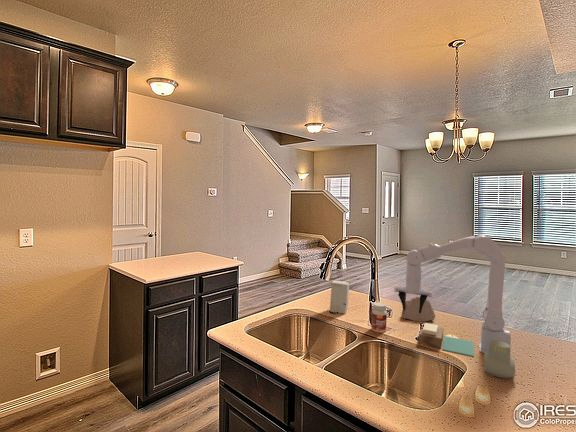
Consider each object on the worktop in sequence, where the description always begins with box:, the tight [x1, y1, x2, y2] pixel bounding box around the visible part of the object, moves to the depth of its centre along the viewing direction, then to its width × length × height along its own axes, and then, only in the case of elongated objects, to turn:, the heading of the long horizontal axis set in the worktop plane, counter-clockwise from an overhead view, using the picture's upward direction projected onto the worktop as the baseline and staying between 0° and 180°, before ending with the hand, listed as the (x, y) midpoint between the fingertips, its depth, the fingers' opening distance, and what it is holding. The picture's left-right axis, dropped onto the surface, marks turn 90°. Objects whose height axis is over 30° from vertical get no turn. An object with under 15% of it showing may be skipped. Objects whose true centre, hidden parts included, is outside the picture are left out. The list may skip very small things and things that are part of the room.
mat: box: [441, 335, 475, 358], centre depth 130 cm, size 10×14×1 cm
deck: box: [418, 323, 444, 350], centre depth 135 cm, size 8×12×4 cm, turn 152°
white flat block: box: [422, 322, 439, 335], centre depth 135 cm, size 5×8×2 cm, turn 152°
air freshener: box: [483, 340, 516, 379], centre depth 110 cm, size 11×8×10 cm
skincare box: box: [329, 280, 350, 315], centre depth 168 cm, size 8×6×15 cm
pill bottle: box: [371, 302, 388, 333], centre depth 145 cm, size 6×6×11 cm
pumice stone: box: [401, 296, 436, 322], centre depth 159 cm, size 15×8×10 cm, turn 74°
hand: (412, 311), depth 139 cm, fingers open, 6 cm apart
